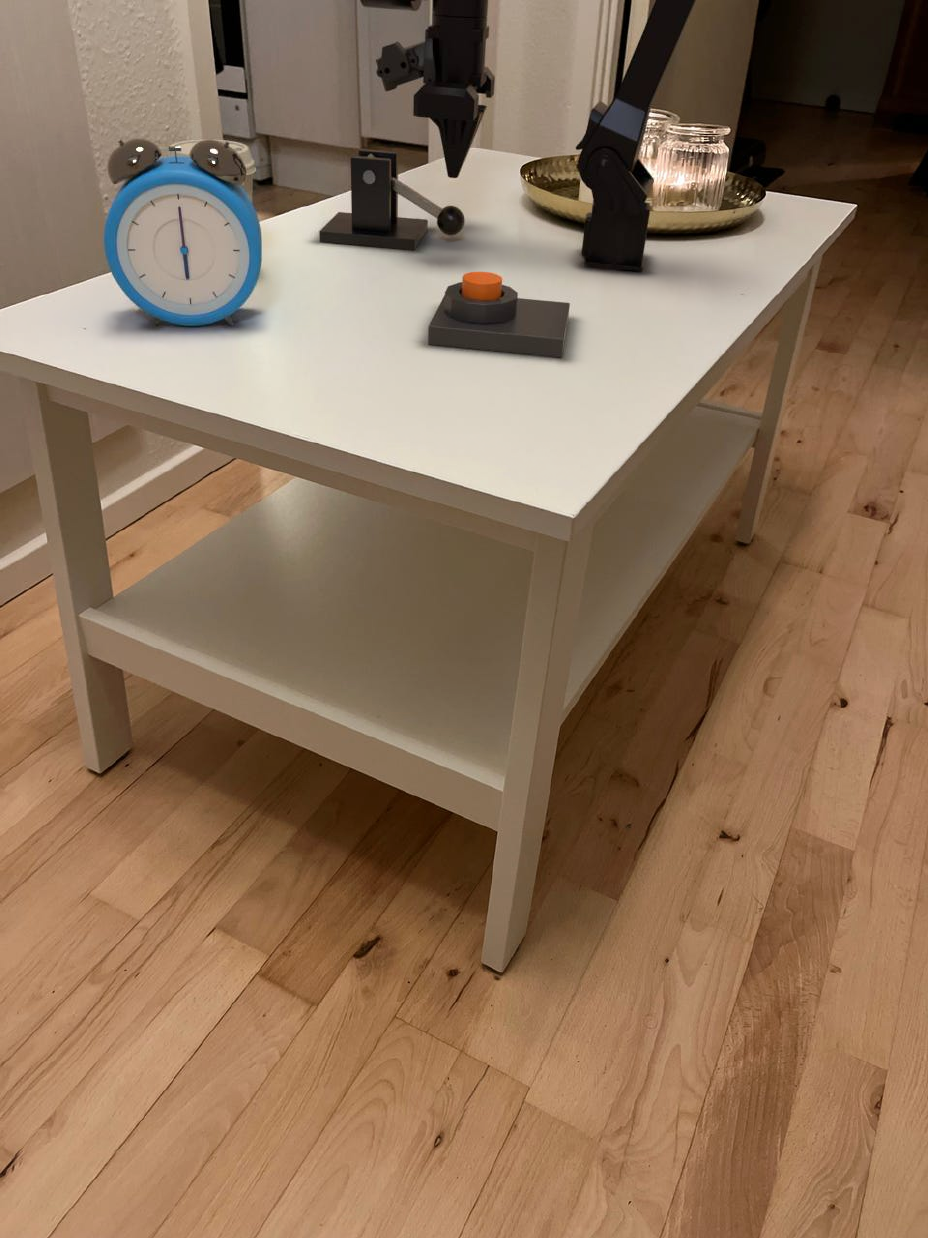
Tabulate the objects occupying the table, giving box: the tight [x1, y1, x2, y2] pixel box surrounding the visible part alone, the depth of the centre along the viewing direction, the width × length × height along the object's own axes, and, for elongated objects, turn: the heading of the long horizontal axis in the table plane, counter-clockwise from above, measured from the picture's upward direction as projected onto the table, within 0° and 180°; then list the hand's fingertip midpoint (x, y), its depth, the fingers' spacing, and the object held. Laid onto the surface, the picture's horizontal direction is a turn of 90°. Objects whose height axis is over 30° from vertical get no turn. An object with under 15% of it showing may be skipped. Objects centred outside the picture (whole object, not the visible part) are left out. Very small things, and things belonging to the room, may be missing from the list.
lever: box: [367, 154, 466, 237], centre depth 113 cm, size 13×3×3 cm, turn 82°
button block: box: [427, 281, 571, 358], centre depth 91 cm, size 12×10×4 cm
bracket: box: [318, 148, 429, 251], centre depth 113 cm, size 11×9×9 cm
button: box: [461, 271, 503, 300], centre depth 89 cm, size 4×4×2 cm
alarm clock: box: [103, 137, 263, 327], centre depth 86 cm, size 13×6×15 cm, turn 100°
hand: (453, 176), depth 111 cm, fingers closed
